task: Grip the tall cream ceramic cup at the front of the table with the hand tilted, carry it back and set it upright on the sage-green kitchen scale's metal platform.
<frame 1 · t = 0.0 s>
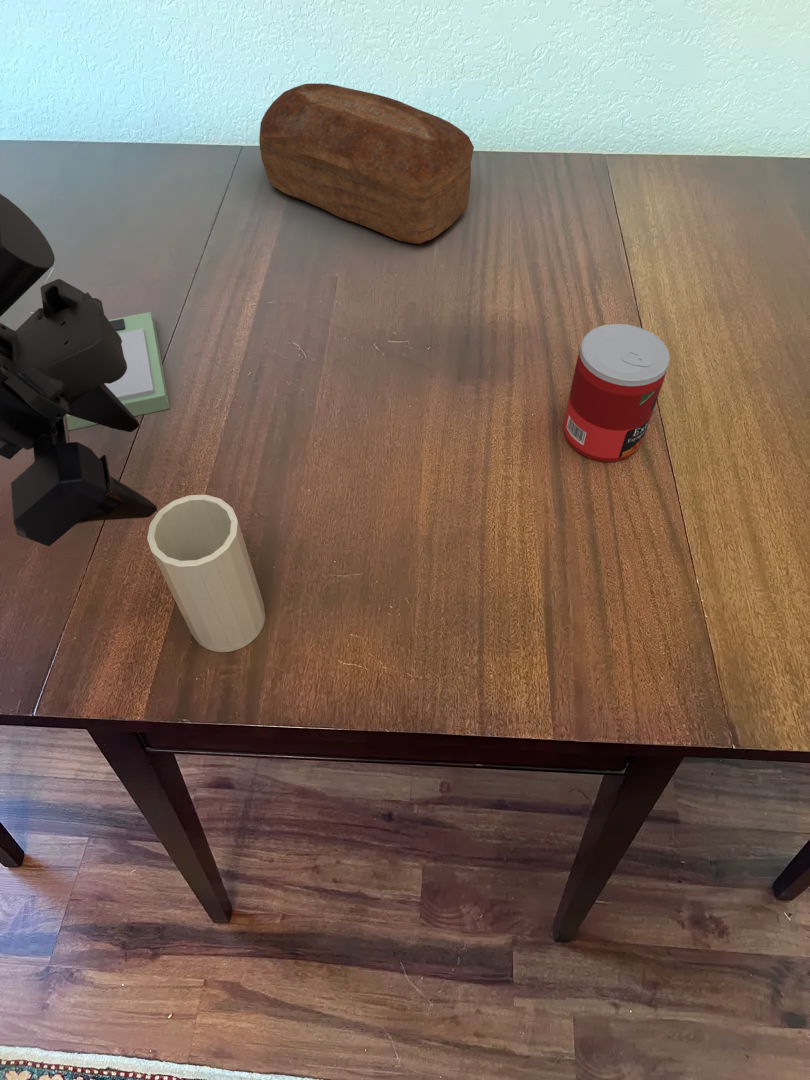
hand: (143, 468, 61), 12 cm above the table, tool tilted 35°, fingers open, 9 cm apart
canned food: (601, 437, 79), on the table
cup: (228, 619, 67), on the table
scale: (106, 376, 85), on the table
bread: (366, 203, 104), on the table
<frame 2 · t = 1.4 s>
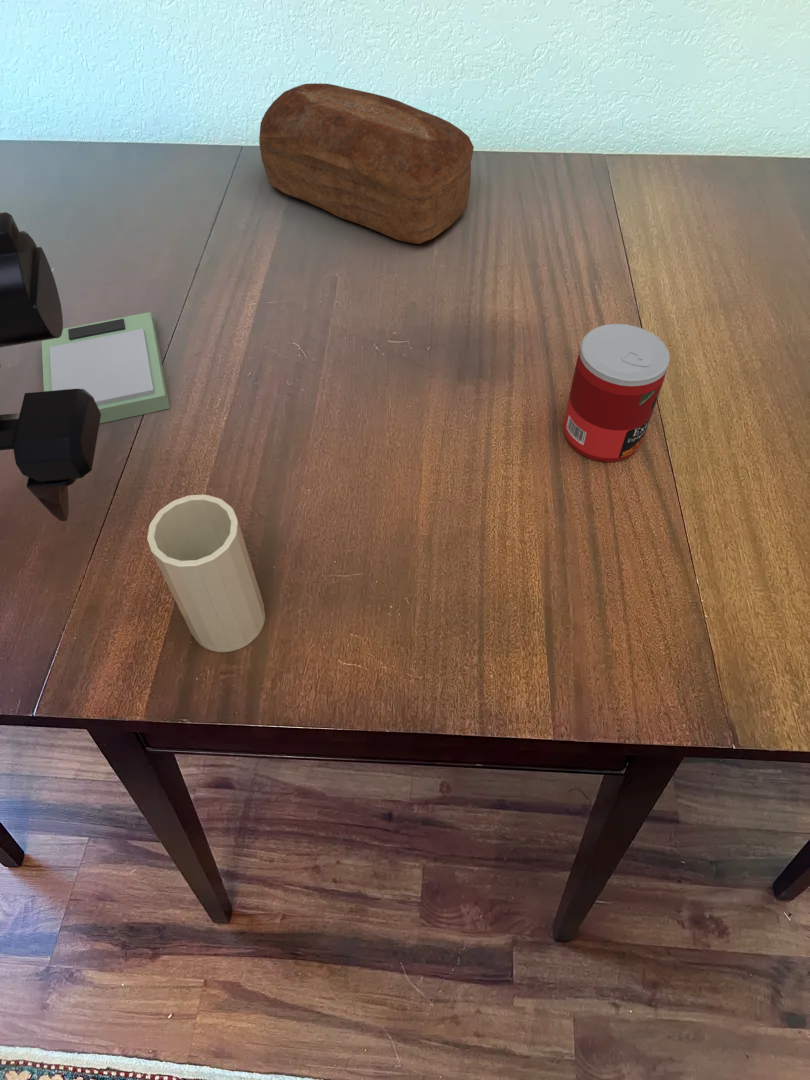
hand: (1, 522, 57), 13 cm above the table, tool pointing down, fingers open, 9 cm apart
nothing on the table moved.
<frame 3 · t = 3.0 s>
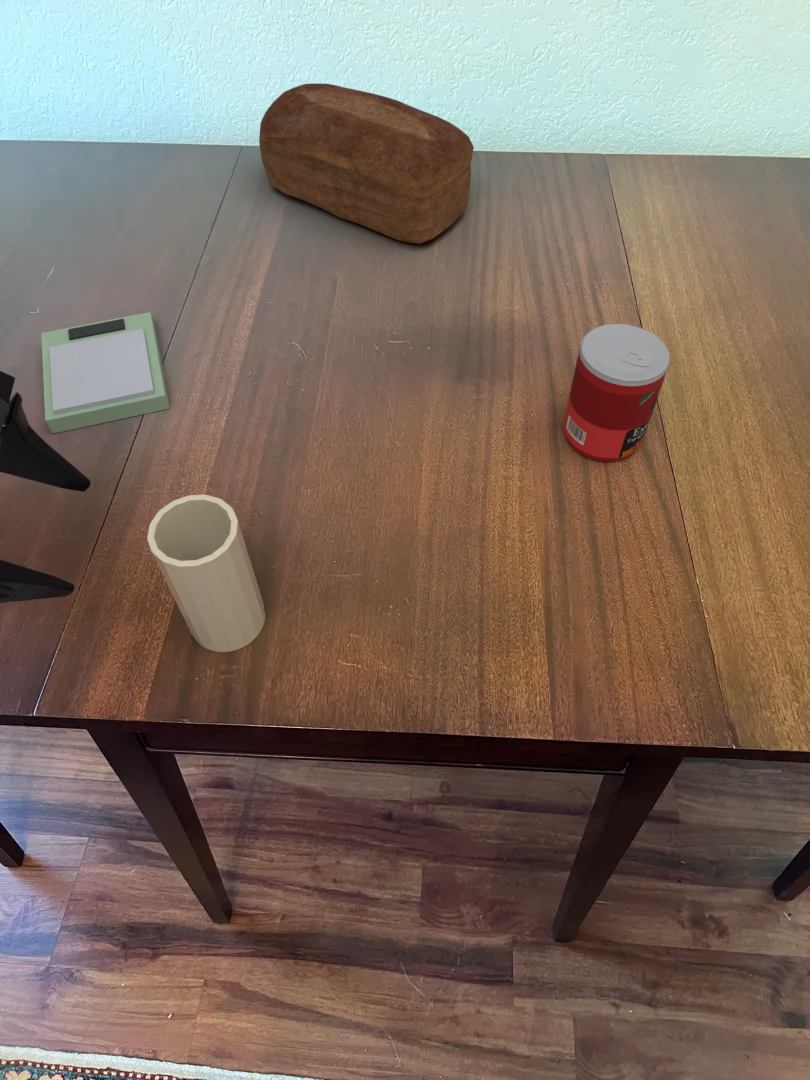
hand: (80, 536, 55), 13 cm above the table, tool tilted 45°, fingers open, 9 cm apart
nothing on the table moved.
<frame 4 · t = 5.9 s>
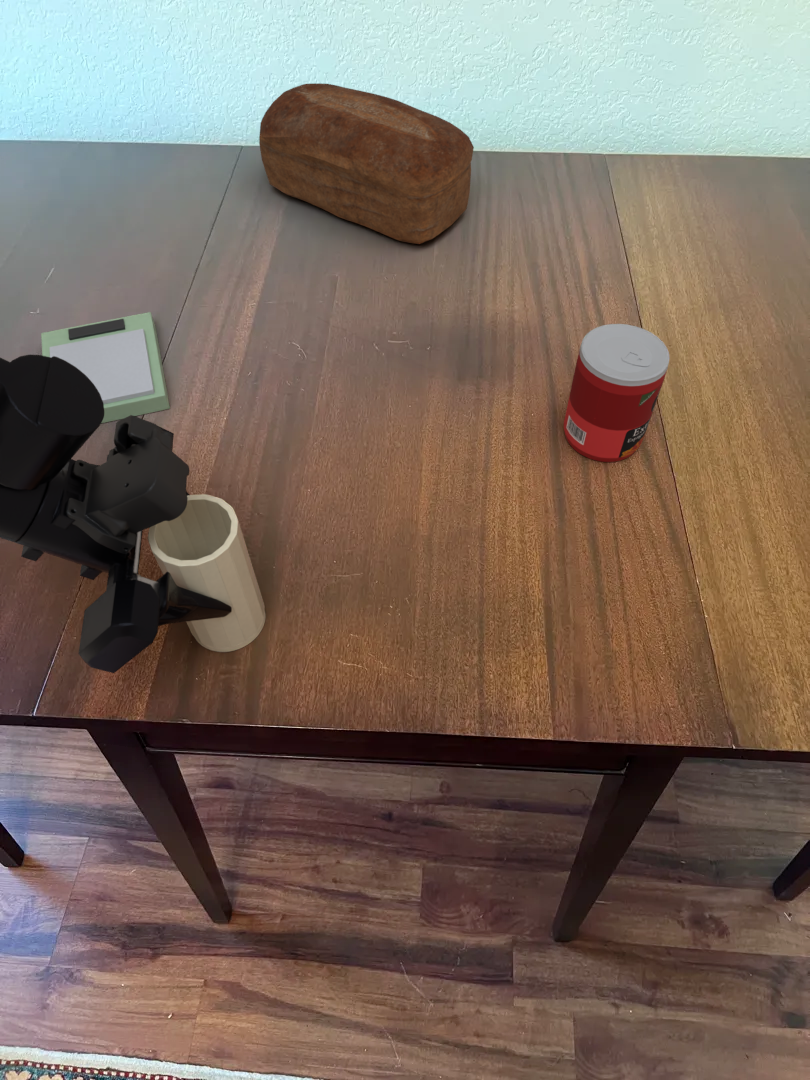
hand: (229, 575, 61), 7 cm above the table, tool tilted 45°, fingers closed on cup, 6 cm apart
cup: (228, 618, 67), on the table, touching gripper
everything else where it was.
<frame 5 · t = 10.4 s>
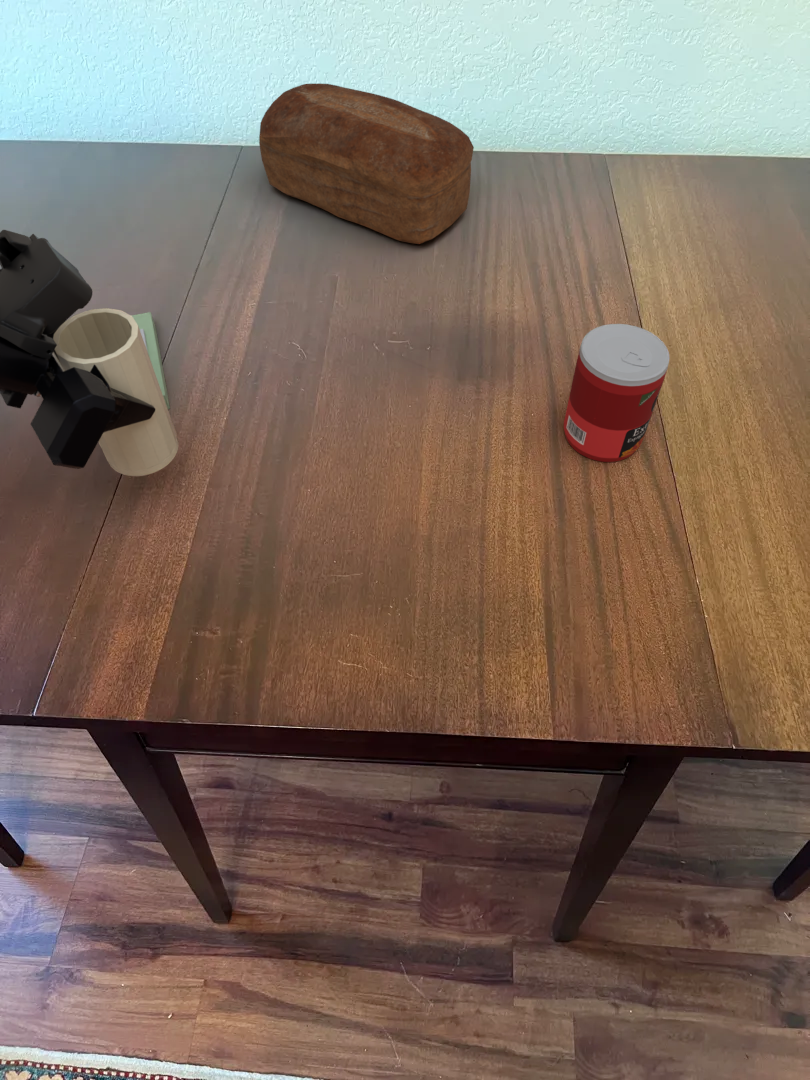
hand: (136, 389, 65), 12 cm above the table, tool tilted 45°, fingers closed on cup, 6 cm apart
cup: (142, 449, 70), point 6 cm above the table, touching gripper
everything else where it was.
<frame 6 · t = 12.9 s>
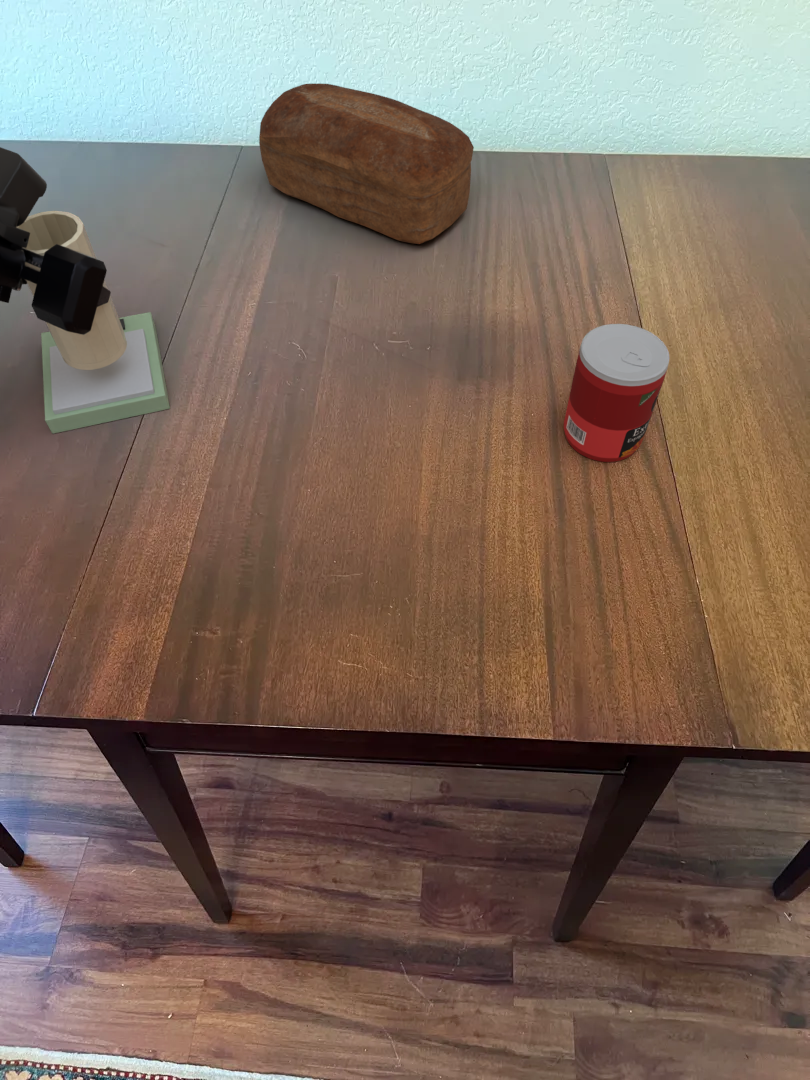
hand: (81, 285, 74), 13 cm above the table, tool tilted 45°, fingers closed on cup, 6 cm apart
cup: (94, 348, 78), point 6 cm above the table, touching gripper
everything else where it was.
when the fingers open (9 cm above the table, at t = 14.9 s): cup stays where it is, resting on scale.
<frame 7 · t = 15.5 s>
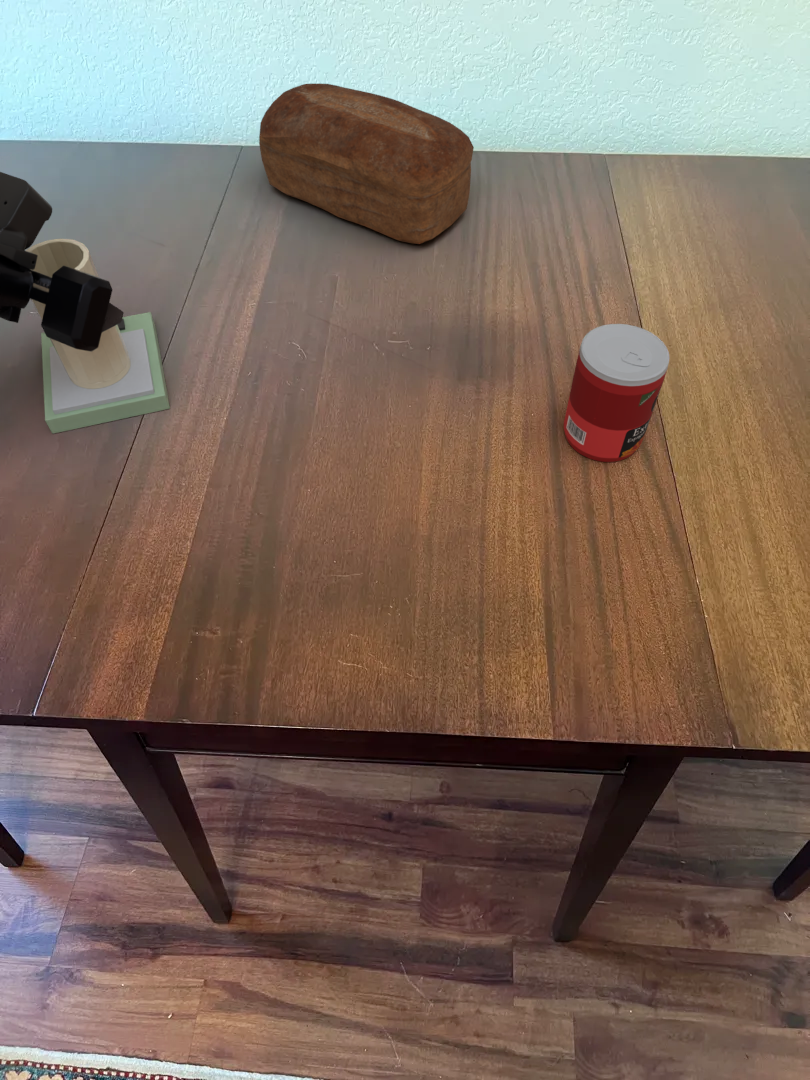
hand: (84, 302, 76), 10 cm above the table, tool tilted 45°, fingers open, 9 cm apart
cup: (99, 367, 82), point 3 cm above the table, touching scale
everything else where it was.
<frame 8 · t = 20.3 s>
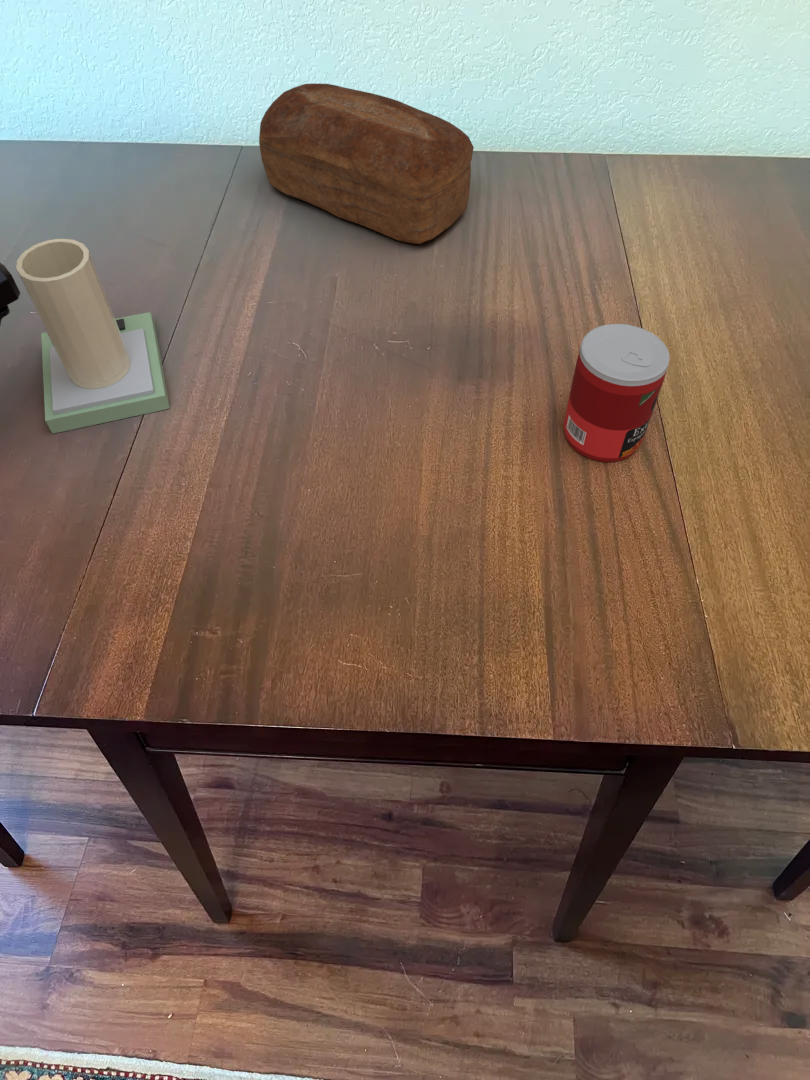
nothing on the table moved.
at the end: cup inside the target area on the scale (0.1 cm from its centre), point 2.6 cm above the scale's base; cup tilted 0°; the gripper is holding nothing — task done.
